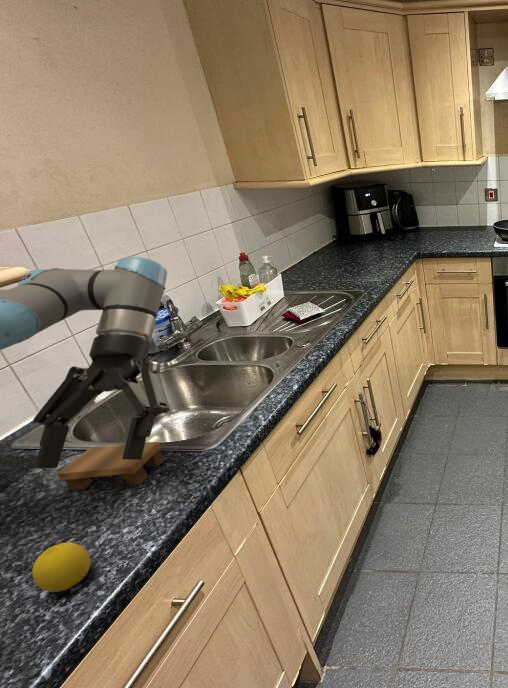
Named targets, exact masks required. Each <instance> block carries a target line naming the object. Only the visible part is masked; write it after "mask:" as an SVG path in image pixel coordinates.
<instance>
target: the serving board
mask: <svg viewBox="0 0 508 688" xmlns="http://www.w3.org/2000/svg"><path fill="white" fill-rule="evenodd" d="M125 445H126V444H121V445H120V444H118V445H107V446H99V447H98V446H96V447H89V448H88V449H87V450H86V451H84V452H83V453H82V454H80V455H79V456H78V457H76V459H74V460H73V461H71V462H70V463H69V464H67V466H65V467H64V468H63V469H62V470H60V471H59V472H58V473H56V474H57V477H58V478H59V479H60V481H65V483H66V485H67V486H68V488H69V489H70V490H71V491H82V490H85V489H86V488H87V487H88V486H89V485H90V484H92V483H93V480H92V478H98V477H108V476H118V475H119V476H121V475H122V477H123V479H124V480H125V482H126V483H127V485H128V486H133V485H134V486H135V485H141V484H142V483H143V482H144V481H145V480H146V479H148V477H149V475H148V474H147V471H146V470H145V468H144V466H145V467H146V468H155V467H159V466H160V465H161V464H162V463H163V462H164V461H165V460H166V459H165V456H164V455H163V453H162V451H161V449H162V446H161V444H160V442H159V441H150V442H145V446H144V450H143V454H142V458H141V459H139V460H127V459H122V457H123V453H124V449H125Z"/></svg>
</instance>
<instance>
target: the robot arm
mask: <svg viewBox="0 0 508 688" xmlns="http://www.w3.org/2000/svg"><path fill="white" fill-rule="evenodd" d="M29 272H30V273H31V276H30V277H29V278H27V274H26V273H25V274H24V276H25V277H24V276H23V277H22V278H21V279H24V278H27V279H25V280H22V281H20V280H19V281H18V284H17V286H14V287H10V288H8V289H0V351H1V350H6V349H7V348H9V347H12V346H14V345H17V344H20V343H23V342H25V341H27V340H29V339H31V338H33V337H34V336H35V335H37V334H39V333H40V332H42V331H45V330H46V329H48V328H50V327H52V326H54V325H55V324H58V323H59V322H62V321H64V320H65V319H68V318H69V317H71V316H73V315H75V314H77V313H79V312H82V311H83V312H84V311H102V312H101V315H100V317H99V321H98V324H97V327H96V330H95V334H96V335H97V336H95V337H93V340H92V344H91V347H90V350H89V354H88V356H89V357H90V359H91V363H90V365H89V366H88V367H79V366H75V365H73V366H71V367H70V368H69V369H68V371H67V374H66V376H65V378H64V380H63V381H62V382H61V384H60V385H59V386H58V387H57V389H55V391H54V392H53V394H52V395H51V396H50V397H49V398H48V400H47V401H46V402H45V404H43V406H42V407H41V409H39V411H38V412H37V414H36V415H35V416H34V417H33V420H32V421H33V423H35V424H40V425H43V426H44V428H43V432H42V435H41V437H40V441H39V447H40V449H39V452H38V455H37V458H36V462H35V464H34V466H33V467H34V469H56V468H58V465H59V463H60V460H61V456H62V453H63V450H64V446H65V443H66V440H67V436H68V433H69V431H70V426H69V425H68V423H69V422H70V421H71V420H72V419H73V418H74V417H75V416H76V415H77V414H79V412H80V411H81V410H82V409H84V408H85V406H87V405H88V404H89V403H90V402H91V401H92V400H93V399H94V398H95V397H96V396H99V395H101V394H102V393H104V392H106V393H107V392H112V391H122V392H123V393H124V395H125V396H126V398H127V399H128V401H129V402H130V404H131V406H132V407H133V409H134V410H135V412H136V414H135V415H134V416H135V417H132V418H131V422H130V425H129V430H128V433H127V437H126V442H125V444H124V445H125V449H124V453H123V457H122V459H127V460H139V459H141V458H142V454H143V450H144V446H145V443H146V441H147V438H150V436H151V435H152V430H153V426H154V423H155V419H156V418H157V416H159V415H162V414H168V412H169V411H170V405H169V402H168V398H167V395H166V391H165V388H164V385H163V382H162V377H161V375H160V374H161V366H162V365H161V363H160V362H157V361H154V360H150V359H148V355H149V352H150V348H151V343H150V340H151V339H152V338H153V334H154V330H155V328H156V327H155V326H156V322H157V317H158V314H159V310H160V306H161V302H162V298H163V295H164V291H166V282H167V276H168V270H167V268H166V267H164V266H163V265H162V263H159V262H158V261H156V260H152V259H149V258H147V257H146V258H145V257H140V256H127V257H122V258H120V259H119V260H118V261H117V263H116V265H115V266H114V269H74V268H73V269H71V268H70V269H69V268H58V267H54V268H44V269H43V268H42V269H41V268H39V269H32V270H30V271H29ZM139 375H141V379H142V383H143V385H142V383H141V382H140V380H139V379H138V376H139ZM143 386H144V387H143ZM142 387H143V388H144V389H143V388H142Z"/></svg>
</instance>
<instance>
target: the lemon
mask: <svg viewBox="0 0 508 688" xmlns="http://www.w3.org/2000/svg"><path fill="white" fill-rule="evenodd" d="M91 561H92V560H91V556H90V554H89V552H88V550H87V549H86V548H85V547H84V546H82V545H80V544H78V543H76V542H62V543H61V542H60V543H56V544H55V545H53V546H50V547H48V548H47V549H46V550H44V551H43V552H42V553H41V554H40V555H38V557H37V558H36V560H35V562H34V564H33V565H32V578H33V580H34V583H35V584H36V586H38V588H40V589H41V590H43V591H45V592H50V593H57V592H62V591H67V590H68V589H70V588H72V587H74V586H76V585H77V584H79V583H80V582H81V581H82V580H83V579H84V578H85V577H86V576H87V574H88V572H89V570H90V568H91V563H92V562H91Z"/></svg>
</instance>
